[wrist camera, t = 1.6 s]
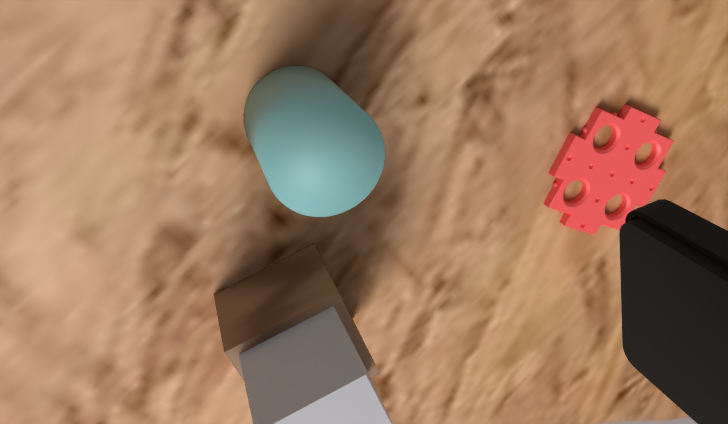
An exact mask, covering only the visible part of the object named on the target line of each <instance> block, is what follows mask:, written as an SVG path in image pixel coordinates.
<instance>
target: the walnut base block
mask: <svg viewBox="0 0 728 424" xmlns="http://www.w3.org/2000/svg"><path fill="white" fill-rule="evenodd" d="M214 299H215V304H216V310H217V315H218V321H219V326H220V332H221V337H222V343H223V348H224V353H225V354H226V356H227V357H228V358H229V360H230V361H231V363H232V364H233V366H234V367H235V368H236V370H237V371H238V373H239V374H240V376H241V377H242V378H243V380H244V377H243V372H242V368H241V363H240V358H239V354H241V353H243V352H245V351H247V350H249V349H251V348H253V347H255V346H257V345H259V344H261V343H262V342H264V341H266V340H268V339H270V338H272V337H274V336H276V335H278V334H280V333H282V332H284V331H286V330H288V329H289V328H291V327H293V326H295V325H297V324H299V323H301V322H303V321H305V320H307V319H309V318H311V317H313V316H315V315H317V314H318V313H320V312H322V311H324V310H326V309H328V308H330V307H332V306H334V308H335V310H336V312H337V314H338V316H339V318H340V319H341V321H342V323H343V325H344V327H345V329H346V331H347V333H348V335H349V337H350V339H351V341H352V343H353V344H354V346H355V348H356V350H357V352H358V354H359V356H360V358H361V360H362V362H363V364H364V366H365V368H366V369H367V371H368V373H369V375H370V378H372V377H374V376H376V375H378V374H380V373H379V371H378V369H377V367H376V365H375V363H374V361H373V359H372V357H371V355H370V353H369V351H368V349H367V347H366V345H365V343H364V341H363V339H362V337H361V335H360V333H359V331H358V329H357V327H356V325H355V323H354V321H353V319H352V317H351V315H350V313H349V311H348V309H347V307H346V305H345V303H344V301H343V299H342V298H341V296H340V294H339V292H338V290H337V288H336V286H335V284H334V282H333V280H332V278H331V276H330V274H329V272H328V270H327V268H326V266H325V264H324V262H323V260H322V258H321V256H320V254H319V252H318V250H317V248H316V246H315V245H314V244H312V245H310V246H308V247H306V248H304V249H302V250H300V251H298V252H296V253H294V254H292V255H290V256H288V257H286V258H284V259H282V260H280V261H278V262H276V263H275V264H273V265H271V266H269V267H267V268H265V269H263V270H261V271H259V272H257V273H255V274H253V275H251V276H249V277H247V278H245V279H243V280H241V281H239V282H237V283H235V284H233V285H231V286H229V287H227V288H225V289H223V290H221V291H219V292H218V293H216V294H214Z"/></svg>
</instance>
